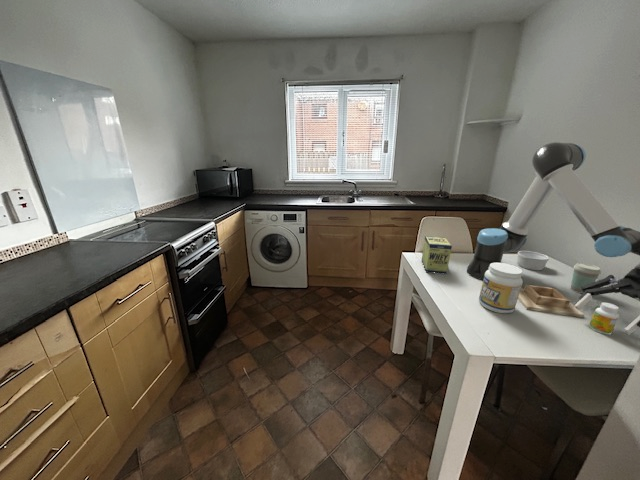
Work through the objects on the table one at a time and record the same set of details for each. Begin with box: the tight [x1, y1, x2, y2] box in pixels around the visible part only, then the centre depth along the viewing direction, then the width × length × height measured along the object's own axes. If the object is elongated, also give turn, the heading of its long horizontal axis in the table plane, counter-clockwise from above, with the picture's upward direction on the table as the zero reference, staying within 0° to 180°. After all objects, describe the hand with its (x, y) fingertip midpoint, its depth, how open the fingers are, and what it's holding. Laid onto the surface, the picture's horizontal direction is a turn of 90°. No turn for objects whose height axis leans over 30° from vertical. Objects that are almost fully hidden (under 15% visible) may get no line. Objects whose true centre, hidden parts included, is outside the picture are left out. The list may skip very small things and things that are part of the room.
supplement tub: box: [478, 262, 524, 314], centre depth 99 cm, size 12×12×17 cm
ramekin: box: [516, 250, 550, 271], centre depth 138 cm, size 13×13×7 cm
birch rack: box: [517, 284, 585, 318], centre depth 103 cm, size 18×16×5 cm
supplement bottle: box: [588, 302, 620, 335], centre depth 86 cm, size 5×5×10 cm
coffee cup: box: [570, 262, 602, 294], centre depth 112 cm, size 8×8×12 cm
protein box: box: [421, 235, 453, 275], centre depth 134 cm, size 10×16×16 cm
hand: (599, 319), depth 86 cm, fingers open, 13 cm apart
